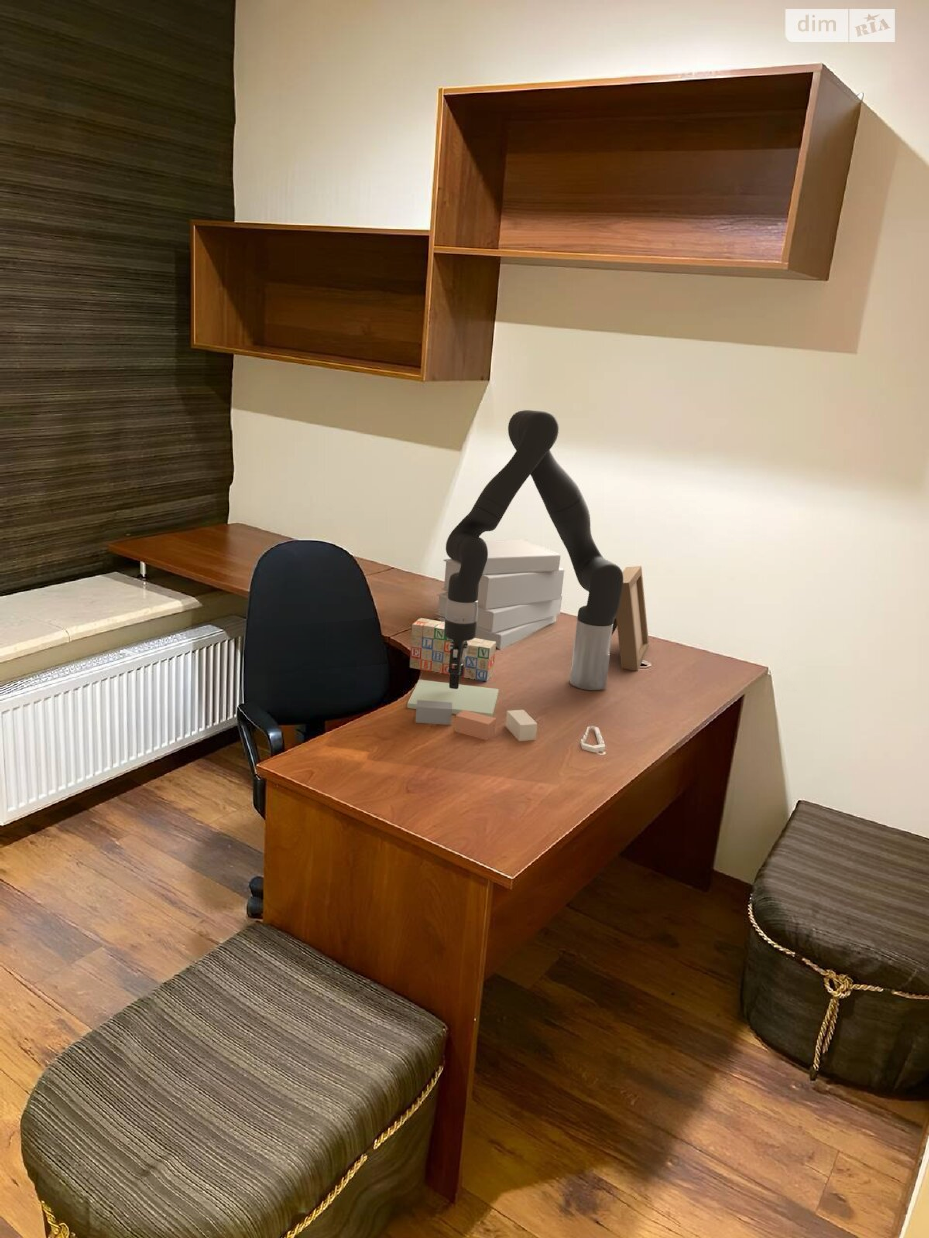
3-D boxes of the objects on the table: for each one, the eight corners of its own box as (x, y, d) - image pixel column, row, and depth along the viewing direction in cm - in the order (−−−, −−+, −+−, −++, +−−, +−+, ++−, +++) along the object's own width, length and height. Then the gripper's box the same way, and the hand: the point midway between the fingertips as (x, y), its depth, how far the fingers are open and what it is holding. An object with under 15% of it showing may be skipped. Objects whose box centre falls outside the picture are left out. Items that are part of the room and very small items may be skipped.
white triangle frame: (575, 730, 214) (576, 724, 214) (597, 732, 215) (598, 725, 214) (583, 755, 202) (584, 748, 201) (606, 757, 202) (607, 749, 202)
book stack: (569, 630, 287) (578, 548, 279) (510, 657, 259) (519, 567, 251) (487, 608, 302) (494, 530, 295) (423, 631, 274) (429, 546, 266)
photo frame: (648, 651, 273) (661, 569, 265) (637, 674, 253) (650, 586, 245) (599, 642, 277) (609, 561, 270) (583, 664, 257) (594, 577, 250)
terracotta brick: (494, 734, 208) (496, 718, 207) (487, 740, 204) (488, 724, 203) (462, 725, 211) (463, 709, 210) (454, 732, 208) (455, 715, 206)
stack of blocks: (493, 675, 244) (497, 630, 240) (486, 682, 238) (491, 637, 235) (417, 660, 250) (420, 616, 246) (408, 667, 244) (411, 623, 240)
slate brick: (450, 718, 215) (452, 702, 213) (450, 725, 211) (452, 709, 210) (416, 716, 214) (417, 699, 213) (415, 723, 210) (416, 706, 209)
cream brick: (535, 740, 207) (537, 723, 206) (518, 741, 205) (520, 725, 204) (521, 725, 214) (523, 709, 213) (505, 726, 212) (507, 710, 211)
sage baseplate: (498, 693, 231) (498, 689, 231) (492, 718, 216) (492, 713, 216) (418, 683, 233) (419, 679, 233) (407, 707, 218) (407, 703, 217)
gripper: (473, 628, 211) (468, 694, 216) (480, 610, 225) (475, 673, 229) (440, 624, 212) (436, 690, 217) (449, 607, 225) (444, 670, 230)
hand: (456, 681), depth 223 cm, fingers open, 8 cm apart
